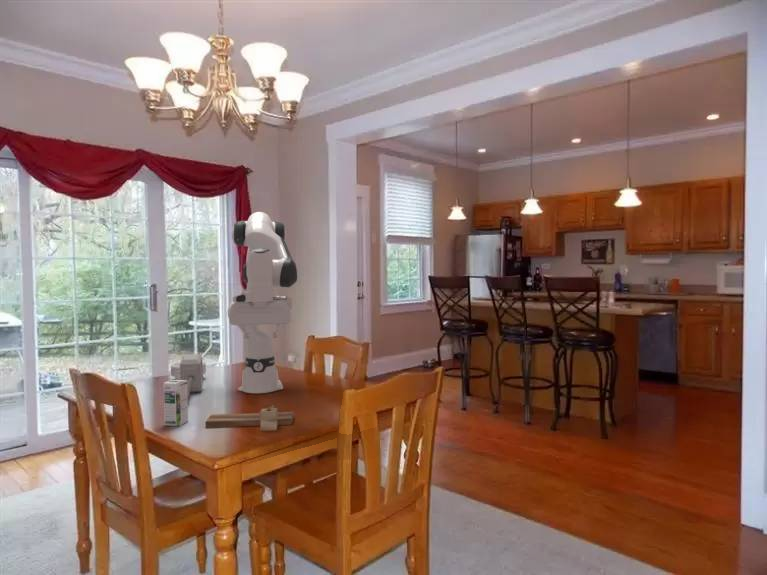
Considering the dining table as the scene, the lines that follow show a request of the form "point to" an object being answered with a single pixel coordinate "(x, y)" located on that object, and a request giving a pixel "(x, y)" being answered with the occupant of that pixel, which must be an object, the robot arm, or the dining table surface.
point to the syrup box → (175, 402)
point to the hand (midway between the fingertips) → (261, 337)
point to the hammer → (192, 372)
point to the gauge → (269, 418)
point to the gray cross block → (176, 370)
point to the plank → (245, 419)
